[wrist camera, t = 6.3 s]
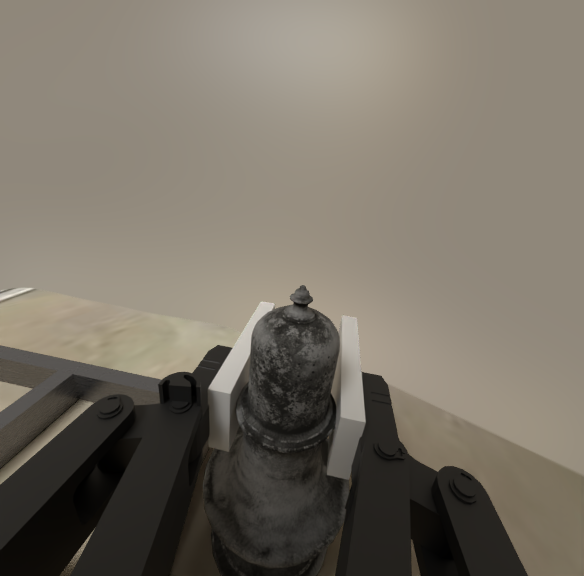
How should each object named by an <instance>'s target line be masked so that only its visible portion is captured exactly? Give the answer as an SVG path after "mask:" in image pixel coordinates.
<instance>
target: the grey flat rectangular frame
mask: <svg viewBox="0 0 584 576" xmlns="http://www.w3.org/2000/svg"><path fill="white" fill-rule="evenodd" d="M0 381H3V382H8V383H12V384H17V385H21V386H25V387H30V388H33V389H32V390H31V391H29V392H28V393H26V394H25V395H24V396H22V397H21V398H19V399H18V400H17V401H15V402H14V403H13V404H11V405H10V406H8V407H7V408H6V409H4V410H3V411H1V412H0V468H1V467H2V466H3V465H4V464H6V463H7V462H8V461H9V460H10V459H11V458H12V457H14V456H15V455H16V454H17V453H18V452H19V451H20V450H21V449H23V448H24V447H25V446H26V445H27V444H28V443H29V442H31V441H32V440H33V439H34V438H35V437H36V436H37V435H39V434H40V433H41V432H42V431H43V430H44V429H45V428H46V427H48V426H49V425H50V424H51V423H52V422H53V421H54V420H56V419H57V418H58V417H59V416H60V415H61V414H62V413H63V412H65V411H66V410H67V409H68V408H69V407H70V406H71V405H73V404H74V403H75V402H76V401H77V400H78V399H82V400H87V401H91V402H97V401H98V400H100V399H102V398H104V397H107V396H109V395H116V394H122V395H127V396H129V397H131V398H132V400H133V402H134V405H149V404H158V403H160V397H159V388H158V384H159V383H160V382H161V381H162V380H160V379H156V378H151V377H146V376H141V375H137V374H132V373H127V372H123V371H118V370H113V369H109V368H104V367H99V366H94V365H90V364H85V363H80V362H76V361H71V360H66V359H62V358H57V357H52V356H47V355H43V354H38V353H33V352H29V351H24V350H19V349H15V348H10V347H5V346H0ZM209 448H210V447H209V437H208V439H207V441H206V443H205V445H204V447H203V457H202V462H203V460H204V458H205V456H206V454H207V452H208V450H209ZM202 462H201V464H202Z"/></svg>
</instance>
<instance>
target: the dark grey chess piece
mask: <svg viewBox="0 0 584 576" xmlns="http://www.w3.org/2000/svg"><path fill="white" fill-rule="evenodd" d="M290 299H291V300H292V301H293V302H294V304H293V305H289V306H284V307H280V308H277V309H274V310H271V311H269V312H267V313H266V314H265V315H264V316H263V317H262V318H261V319H260V320H259V321H258V322H257V323H256V325H255V327H254V329H253V332H252V336H251V351H250V368H249V381H248V383H247V384H246V385H245V386H244V387H243V388H242V390H241V392H240V395H239V397H238V399H237V403H236V415H237V420H238V423H239V428H238V430H237V433H236V435H235V438H234V440H233V443H232V445H231V448H230V450H229V452H227V451H223V450H219V449H214V450H213V452H212V455H211V457H210V459H209V461H208V463H207V465H206V470H205V475H204V481H203V496H204V508H205V511H206V514H207V516H208V519H209V521H210V524H211V527H212V533H211V537H212V547H213V555H214V558H215V561H216V563H217V566H218V569H219V572H220V574H221V575H222V576H317V574H318V572H319V570H320V569H321V567H322V565H323V561H324V558H325V554H326V551H327V547H328V545H330V544H331V543H332V542H333V540H334V539H335V537H336V535H337V533H338V532H339V530H340V528H341V527H342V525H343V523H344V520H345V514H346V509H345V505H346V502H347V499H348V495H349V480H347V479H343V478H338V477H334V476H330V475H327V462H328V444H329V439H328V438H327V437H328V436H329V435H330V434H331V433H332V431H333V428H334V426H335V423H336V403H335V400H334V398H333V396H332V394H331V389H332V384H333V380H334V375H335V370H336V366H337V361H338V356H339V351H340V337H339V334H338V331H337V329H336V328H335V326H334V324H333V323H332V322H331V320H330V319H329V318H327V317H326V316H325V315H323V314H322V313H320V312H319V311H317V310H314V309H312V308H309V307H308V304H309V303H311V302H312V301H313V298H312V297H311V296H310V295H309V291H308V290H307V289H306V287H305V286H304V285H302V286H300V288H299V289H297V290H296V291H295V293H294V294H292V295H291V296H290Z"/></svg>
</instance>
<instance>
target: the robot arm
mask: <svg viewBox="0 0 584 576" xmlns="http://www.w3.org/2000/svg"><path fill="white" fill-rule="evenodd" d="M274 309H275V304H274V303H268V302H262V301H261V302H260V304H259V306H258V307H257V309H256V311H255V312H254V314H253V315H252V317H251V319H250V320H249V322H248V324H247V325H246V327H245V329H244V330H243V332H242V334H241V335H240V337H239V338H238V340H237V342H236V343H235V345H234V347H233V348H230V347H225V346H220V345H217V346H216V347H214V348H213V349H211V350H210V351H208V353H207V354H206V355H205V357H204V358H203V360H202V361H201V362H200V364H199V365H198V367H197V368H196V369H195V370H194V372H193V373H189V372H177V373H174V374H171V375H169V376H167V377H165V378H164V379H162V381H161V382H160V383H159V384H158V388H159V397H160V403H158V404H149V405H134V402H133V400H132V398H131V397H129V396H127V395H122V394H116V395H109V396H107V397H104V398H102V399H100V400H98V401H97V402H95V403H94V404H92V405H91V406H90V407H89V408H88V409H87V410H85V411H84V412H83V413H82V414H81V415H80V416H79V417H77V418H76V419H75V420H74V421H73V422H72V423H71V424H69V425H68V426H67V427H66V428H65V429H64V430H63V431H61V432H60V433H59V434H58V435H57V436H56V437H55V438H53V439H52V440H51V441H50V442H49V443H48V444H47V445H45V446H44V447H43V448H42V449H41V450H40V451H38V452H37V453H36V454H35V455H34V456H33V457H32V458H30V459H29V460H28V461H27V462H26V463H25V464H24V465H22V466H21V467H20V468H19V469H18V470H17V471H16V472H14V473H13V474H12V475H11V476H10V477H9V478H8V479H6V480H5V481H4V482H3V483H2V484H1V485H0V576H59V575H60V574H61V573H62V571H63V570H64V569H65V567H66V566H67V565H68V563H69V562H70V561H71V559H72V558H73V557H74V555H75V554H76V553H77V551H78V550H79V549H80V547H81V546H82V545H83V543H84V542H85V541H86V539H87V538H88V537H89V535H90V534H91V532H92V531H93V530H94V528H95V527H96V528H95V530H94V531H93V533H92V535H91V537H90V539H89V541H88V543H87V545H86V547H85V549H84V551H83V552H82V554H81V556H80V558H79V560H78V562H77V564H76V566H75V568H74V570H73V572H72V574H71V575H70V576H169V575H170V571H171V568H172V564H173V561H174V557H175V553H176V550H177V546H178V543H179V539H180V536H181V532H182V529H183V525H184V522H185V518H186V515H187V511H188V508H189V504H190V501H191V497H192V494H193V490H194V487H195V483H196V480H197V476H198V473H199V469H200V466H201V462H202V457H203V447H204V445H205V443H206V441H207V439H208V437H209V447H210V448H215V449H219V450H223V451H227V452H229V450H230V448H231V445H232V443H233V440H234V438H235V435H236V433H237V430H238V428H239V423H238V420H237V415H236V403H237V399H238V397H239V395H240V392H241V390H242V388H243V387H244V386H245V385H246V384H247V383H248V381H249V368H250V351H251V336H252V332H253V329H254V327H255V325H256V323H257V322H258V321H259V320H260V319H261V318H262V317H263V316H264V315H265V314H266V313H267V312H269V311H271V310H274ZM338 334H339V337H340V351H339V356H338V361H337V366H336V370H335V375H334V380H333V384H332V391H331V394H332V396H333V398H334V400H335V403H336V423H335V426H334V428H333V431H332V433H331V434H330V435H329V444H328V462H327V475H330V476H334V477H338V478H343V479H347V480H349V478H350V474H351V473H352V485H351V489H350V492H349V495H348V499H347V502H346V505H345V509H346V514H345V520H344V526H343V532H342V538H341V544H340V550H339V556H338V562H337V568H336V574H335V576H412V575H411V539H412V540H413V544H414V548H415V553H416V557H417V561H418V566H419V570H420V574H421V576H528V575H527V573H526V571H525V569H524V567H523V565H522V563H521V561H520V559H519V557H518V555H517V553H516V551H515V549H514V547H513V545H512V543H511V541H510V538H509V536H508V534H507V532H506V530H505V528H504V526H503V524H502V522H501V520H500V518H499V516H498V514H497V512H496V510H495V508H494V506H493V504H492V502H491V500H490V498H489V496H488V494H487V492H486V491H485V489H484V488H483V486H482V485H481V483H480V482H478V481H477V480H476V479H475V478H474V477H473V476H472V475H471V474H469V473H467V472H466V471H464V470H463V469H460V468H457V467H454V466H445V467H443V468H442V469H440V470H439V472H437V471H435V470H433V469H431V468H429V467H427V466H425V465H423V464H421V463H420V462H418V461H417V460H415V459H414V458H412V457H411V456H410V455H409V454H408V453H407V450H406V448H405V447H404V445H403V444H402V443H401V442H400V441H399V438H398V434H397V429H396V424H395V419H394V414H393V409H392V406H391V399H390V394H389V389H388V385H387V384H386V382H385V381H384V379H383V378H382V376H379V375H374V374H369V373H364V372H361V360H360V349H359V336H358V325H357V318H355V317H348V316H343V315H342V318H341V323H340V328H339V333H338Z"/></svg>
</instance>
